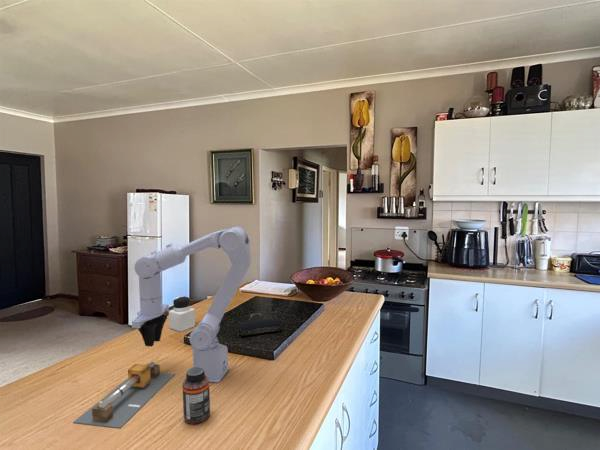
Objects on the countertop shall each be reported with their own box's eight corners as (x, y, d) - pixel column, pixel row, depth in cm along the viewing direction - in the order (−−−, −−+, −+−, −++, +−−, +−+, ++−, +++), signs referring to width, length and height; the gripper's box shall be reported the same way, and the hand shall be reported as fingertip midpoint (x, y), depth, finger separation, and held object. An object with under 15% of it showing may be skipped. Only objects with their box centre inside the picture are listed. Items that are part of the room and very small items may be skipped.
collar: (150, 381, 91) (149, 365, 91) (143, 387, 89) (143, 370, 88) (135, 380, 92) (135, 363, 92) (128, 386, 89) (127, 369, 89)
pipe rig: (175, 374, 97) (174, 360, 96) (120, 428, 74) (119, 410, 74) (137, 371, 99) (136, 357, 98) (73, 422, 76) (72, 405, 76)
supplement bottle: (187, 409, 81) (185, 364, 80) (212, 407, 81) (211, 363, 80) (180, 425, 75) (178, 377, 74) (207, 424, 75) (206, 376, 75)
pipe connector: (236, 314, 132) (273, 310, 137) (236, 327, 133) (273, 322, 138) (241, 325, 121) (280, 320, 126) (241, 339, 122) (280, 333, 127)
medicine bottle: (195, 326, 133) (194, 296, 132) (180, 332, 127) (179, 301, 126) (183, 322, 137) (182, 294, 136) (168, 328, 131) (167, 298, 130)
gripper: (153, 289, 103) (154, 332, 104) (120, 304, 88) (123, 353, 90) (174, 290, 102) (175, 333, 103) (144, 305, 87) (147, 355, 88)
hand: (152, 343), depth 96 cm, fingers open, 3 cm apart
